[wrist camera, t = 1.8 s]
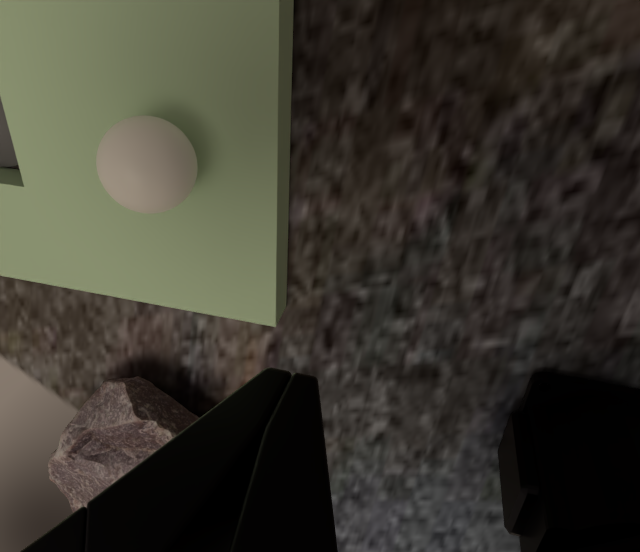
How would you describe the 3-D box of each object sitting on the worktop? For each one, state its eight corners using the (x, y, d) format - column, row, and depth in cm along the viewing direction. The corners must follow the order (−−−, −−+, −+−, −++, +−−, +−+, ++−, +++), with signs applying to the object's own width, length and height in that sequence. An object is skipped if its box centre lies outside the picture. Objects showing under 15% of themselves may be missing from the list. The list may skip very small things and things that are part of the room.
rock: (54, 441, 31) (-1, 508, 27) (135, 341, 25) (80, 408, 21) (163, 511, 33) (126, 584, 29) (263, 432, 27) (234, 510, 23)
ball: (209, 111, 17) (164, 135, 14) (215, 199, 19) (174, 235, 16) (124, 101, 18) (64, 123, 15) (136, 187, 19) (85, 221, 17)
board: (295, -75, 15) (280, -80, 14) (286, 306, 23) (275, 327, 21) (-186, -99, 18) (-236, -105, 17) (-57, 244, 26) (-85, 259, 24)
